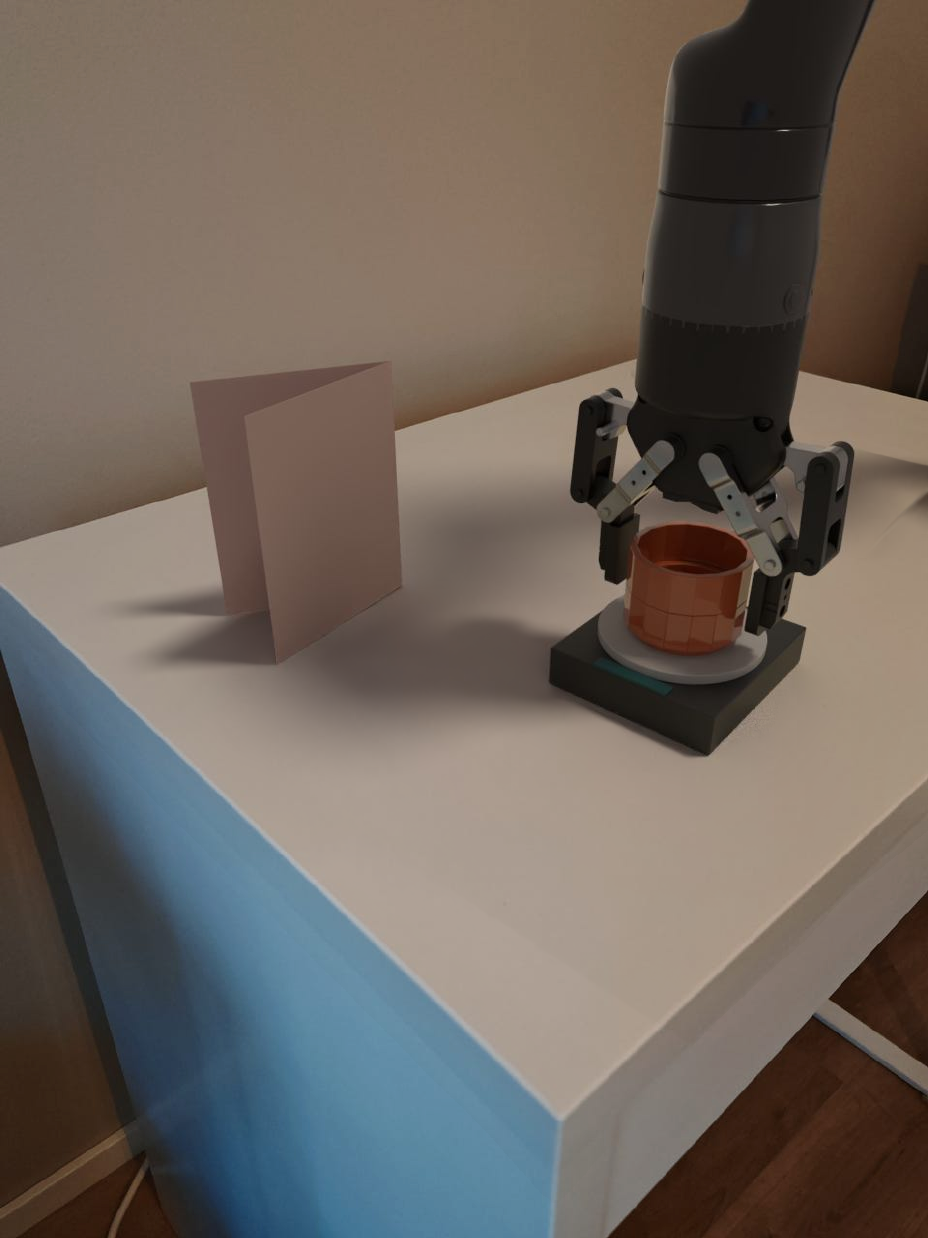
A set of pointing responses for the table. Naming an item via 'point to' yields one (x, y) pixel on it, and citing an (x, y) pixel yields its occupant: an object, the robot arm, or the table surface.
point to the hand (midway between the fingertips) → (685, 602)
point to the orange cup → (687, 587)
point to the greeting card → (302, 494)
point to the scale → (673, 676)
